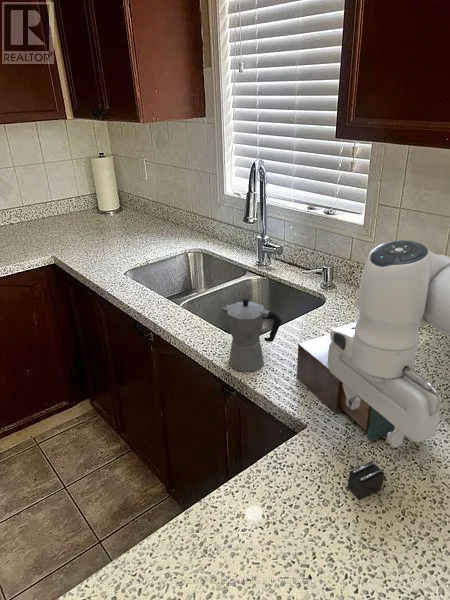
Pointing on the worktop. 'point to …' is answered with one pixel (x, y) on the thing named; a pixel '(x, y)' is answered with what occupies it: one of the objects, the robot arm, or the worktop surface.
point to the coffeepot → (248, 333)
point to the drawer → (367, 417)
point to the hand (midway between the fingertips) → (372, 423)
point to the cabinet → (319, 371)
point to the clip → (365, 480)
